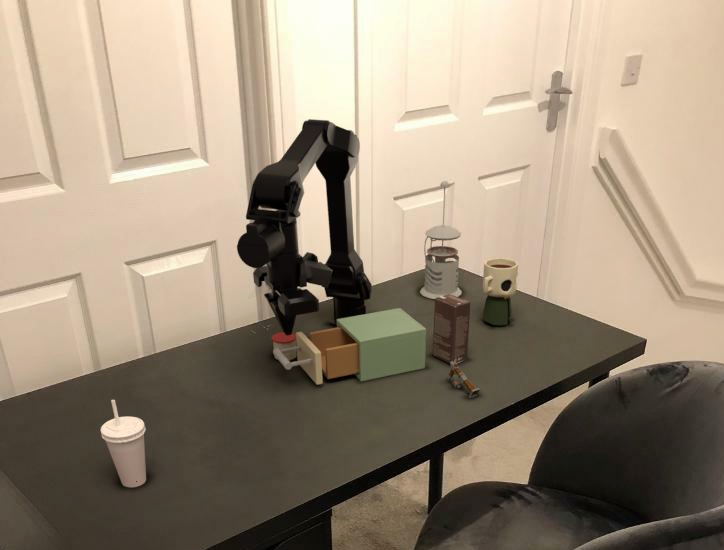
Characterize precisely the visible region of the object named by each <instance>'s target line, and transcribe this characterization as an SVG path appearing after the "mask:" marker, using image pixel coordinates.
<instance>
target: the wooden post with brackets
mask: <svg viewBox="0 0 724 550" xmlns="http://www.w3.org/2000/svg"><path fill="white" fill-rule="evenodd" d="M449 367H450V368H451V369H450V371H449V373H448V374H447V377H446V380H447V381H448V382H449V381H451V385H453V386H454V389H456V388H457V389H461V384H462V385H464V386H465V388H466V390H467V391H468V393H469V395H468V398H469V399H471V398H475V397H477V396H478V395H479V393H480V391H481V388H480V387H476V386H474V385H473V384H472V383H471V382H470V381H469V379H468V378H467V376H466V374H464V372H462V370H461V369H460V366H459V363H456V362H453V361H451V362H450V363H449ZM454 375H456V376H457V378H456V379H455V377H454ZM458 380H459V381H460V382H459V381H458Z"/></svg>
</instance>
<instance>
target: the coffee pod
mask: <svg viewBox="0 0 724 550" xmlns="http://www.w3.org/2000/svg"><path fill="white" fill-rule="evenodd" d="M271 341H272V342H273V343H272V344H273V350H274V349H275V348H278V349H279V350H283V349H288V348H293V347H297V343H296V333H294V332H292V334H291V335H288V336H286V335H285V333H284V332H277V333H274V334H273V335H272V336H271ZM283 354H284V355H285V357H286V358H287V359H288V360H289V361H292V360H294V359H296V358H297V351H294V352H289V353H283ZM273 356H274V359H276V360H278V359H277V358H276V356H275V355H274V354H273Z"/></svg>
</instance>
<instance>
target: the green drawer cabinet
mask: <svg viewBox="0 0 724 550" xmlns="http://www.w3.org/2000/svg"><path fill="white" fill-rule="evenodd" d="M337 327H341V328H342V329H343V330H344V331H345V332H347V333H348V334H349V335H350V336H351V337H352V338H353V339H354V340H355V341H356V342H357V343H358V344H359V373H355V374H353V375H354V376H355V377H356V378H357V379H358V381H360V382H365V381H369V380H375V379H379V378H384V377H389V376H394V375H399V374H404V373H409V372H413V371H417V370H423V369H426V353H427V351H426V350H427V328H425V327H424V326H423V325H422V324H421V323H419V321H417V320H415V319H414V317H412V316H411V315H409V314H408V313H407V312H406V311H404V309H402V308H400V307H397V308H392V309H387V310H386V309H385V310H381V311H375V312H370V313H366V314H364V315H358V316H353V317H347V318H341V319H337V326H336V328H337Z"/></svg>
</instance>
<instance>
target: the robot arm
mask: <svg viewBox="0 0 724 550" xmlns="http://www.w3.org/2000/svg"><path fill="white" fill-rule="evenodd" d="M360 151H361V143H360V138H359V137H358V136H357V134H355V132H354V131H353V130H351V129H346V128H343V127H341V126H339V125H336V124H335V123H334V122H332V121H330V120H326V119H313V118H312V119H311V118H309V119H307V120H304V121H303V123H302V127H301V130H300V132H298V135H297V136H296V137H295V139H294V140H293V142H292V143H291V145H290V146H289V147H288V149H287V150H286V151H285V153H284V154H283V156H282V157H281V158H280V159H279V160H278V161H276V162H273V163H271V164H268V165H266V166H265V167H264V168H262V169H261V170H260V171H259V172H258V173H257V174H256V176H255V178H254V180H253V182H252V185H251V190H250V193H249V194H250V195H249V200H248V205H247V209H246V214H245V219H246V220H248V221H252V222H249V223H247V224H246V225H245V230H246V231H245V232H244V233H243V234H242V235H240V237H239V238H238V240H237V245H236V250H237V254H238V256H239V259H240V260H241V261H242V262H243V263H244V264H245V265H246V266H247V267H250V268H252V269H254V271H253V273H252V276H253V277H252V278H253V284H254V285H255V286H256V287H257V288H261V287H262V286H263V282H264V283H265V287H266V288H267V292H266V293H264V294H263V296H264V299H265V300H266V302H267V303H268V305H269V307H270V309H271V311H272V313H273V315H274V316H275V318H276V320H277V321H278V324H279V326H280V327H281V330H282V331H283V332H284V333H285V335H286V336H288V335H291V334H292V333H293V330H294V328H295V327H294V326H295V321H296V318H297V316H299V315H300V316H301V315H305V314H311V313H316V312H317V313H318V312H319V311H320V300H319V298H318V297H316V295H315V294H313V292H311V291H310V290H309V289H308V288H307V287H308V284H310V285H311V284H312V285H315V286H319V287H320V286H321V287H322V288H324V292H325V293H324V294H325V297H326V298H332V302H333V305H332V306H333V319H331V320H328V324H329V325H332V326H335V327H337V319H341V318H347V317H353V316H358V315H364V314H367V307H366V306H367V305H366V303H365V302H366V301H367V300H370V299H371V295H372V292H373V291H372V290H373V289H372V286H373V285H372V283H371V280H369V278H368V276H367V273H365V268H364V261H363V259H362V258H361V257H360V255H359V254H358V252H357V250H356V248H355V237H354V236H355V235H354V220H353V218H354V217H353V202H352V199H353V198H352V182H351V176H352V174H353V172H354V171H355V169H356V166H357V165H358V163H359V154H360ZM314 166H315V167H316V169H317V170H318V171H319V173H320V175H321V176H322V178H323V179H324V181H325V194H326V205H327V218H328V219H327V220H328V231H329V232H328V233H329V246H330V247H329V249H330V253H329V256H328V258H327V260H326V262H325V263H323V262H322V261H319V258H318V255H316V254H315V253H314V252H308V251H306V253H305V254H304V255H303V256H302V255H301V254H300V249H299V235H298V222H297V220H298V218H299V217H301V212H300V210H299V209H300V206H301V203H302V200H303V198H304V195H305V189H304V184H303V183H304V182H305V179H306V178H307V176H309V173H310V172H311V171H312V169H313V167H314ZM302 288H304V289H302Z"/></svg>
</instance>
